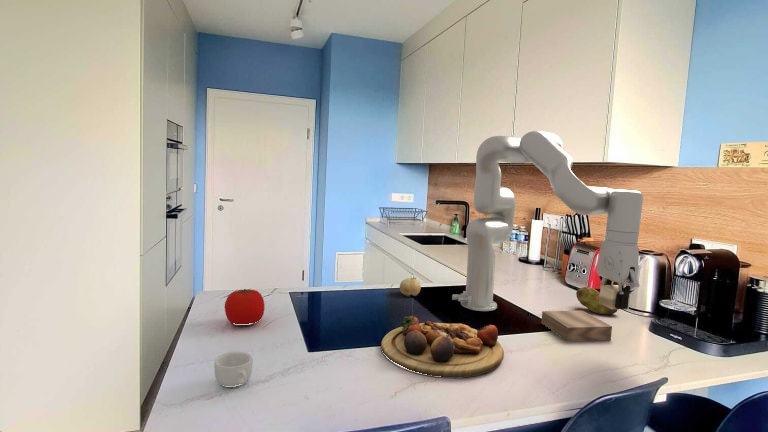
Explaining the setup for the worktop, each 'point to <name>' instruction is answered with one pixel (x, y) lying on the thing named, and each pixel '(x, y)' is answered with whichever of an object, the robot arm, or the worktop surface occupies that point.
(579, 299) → the green pickle
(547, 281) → the worktop surface
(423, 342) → the wooden plate with food
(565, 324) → the walnut base block
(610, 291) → the maple cube
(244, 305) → the tomato
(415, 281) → the cream round lump
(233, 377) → the teacup
